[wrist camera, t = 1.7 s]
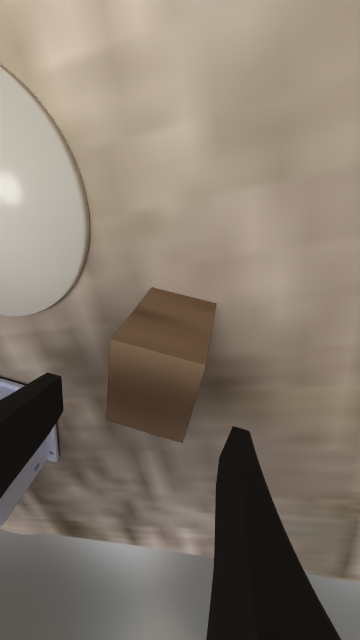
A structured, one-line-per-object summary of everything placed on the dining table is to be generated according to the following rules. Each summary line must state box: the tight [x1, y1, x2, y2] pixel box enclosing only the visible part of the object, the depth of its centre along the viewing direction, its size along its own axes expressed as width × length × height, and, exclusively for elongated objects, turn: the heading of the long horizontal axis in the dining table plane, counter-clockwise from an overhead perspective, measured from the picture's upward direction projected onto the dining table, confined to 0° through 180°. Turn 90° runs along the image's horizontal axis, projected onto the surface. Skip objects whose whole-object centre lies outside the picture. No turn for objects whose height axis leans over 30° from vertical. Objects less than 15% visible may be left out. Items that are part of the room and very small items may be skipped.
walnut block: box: [106, 287, 216, 443], centre depth 14 cm, size 5×4×6 cm
